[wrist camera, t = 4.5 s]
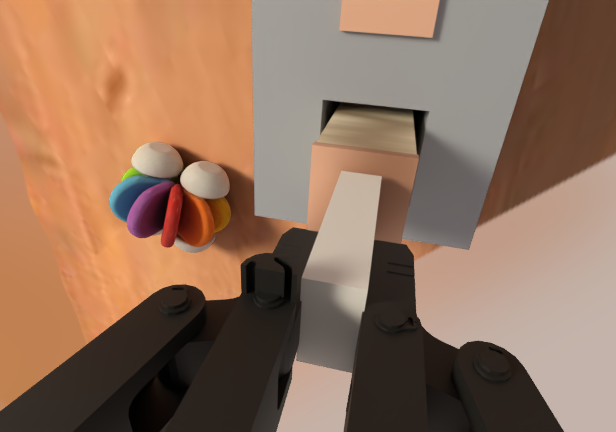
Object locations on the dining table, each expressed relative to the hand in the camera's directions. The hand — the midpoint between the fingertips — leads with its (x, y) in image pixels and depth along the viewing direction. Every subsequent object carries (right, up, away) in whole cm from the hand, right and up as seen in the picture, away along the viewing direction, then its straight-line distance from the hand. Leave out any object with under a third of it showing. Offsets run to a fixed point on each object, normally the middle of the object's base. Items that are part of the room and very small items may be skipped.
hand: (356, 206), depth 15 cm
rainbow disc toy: (-13, +2, +20) cm, 24 cm away
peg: (+2, +5, +9) cm, 10 cm away
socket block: (+3, +10, +11) cm, 16 cm away
